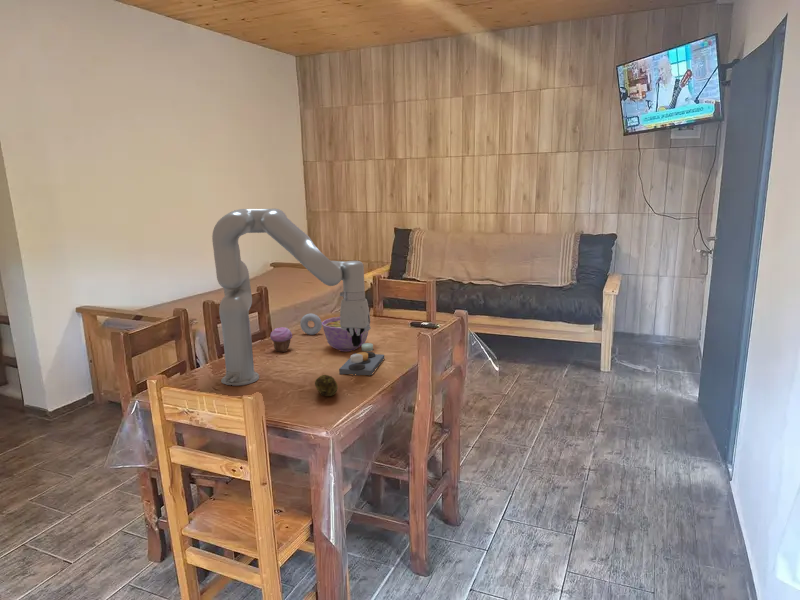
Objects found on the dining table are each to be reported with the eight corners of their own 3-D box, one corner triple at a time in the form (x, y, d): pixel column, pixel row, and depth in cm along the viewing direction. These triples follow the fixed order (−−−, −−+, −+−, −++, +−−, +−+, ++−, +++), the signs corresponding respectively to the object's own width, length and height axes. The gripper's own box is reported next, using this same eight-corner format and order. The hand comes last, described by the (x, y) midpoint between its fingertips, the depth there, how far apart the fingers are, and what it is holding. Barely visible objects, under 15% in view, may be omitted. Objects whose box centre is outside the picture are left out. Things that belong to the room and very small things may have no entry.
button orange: (366, 361, 209) (366, 356, 208) (355, 360, 210) (354, 355, 209) (369, 357, 213) (369, 352, 212) (358, 356, 214) (358, 351, 213)
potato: (344, 389, 190) (343, 366, 188) (334, 404, 177) (333, 380, 175) (320, 388, 191) (319, 366, 189) (309, 403, 178) (307, 379, 177)
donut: (299, 335, 256) (298, 314, 254) (301, 333, 259) (300, 312, 257) (321, 335, 255) (320, 314, 253) (323, 333, 258) (322, 312, 256)
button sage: (371, 351, 215) (371, 346, 214) (360, 351, 216) (360, 346, 215) (374, 348, 219) (374, 343, 219) (363, 347, 220) (363, 342, 220)
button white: (360, 363, 202) (360, 358, 201) (349, 362, 203) (348, 357, 202) (364, 359, 206) (364, 354, 205) (352, 358, 207) (352, 353, 206)
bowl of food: (377, 352, 229) (377, 324, 227) (330, 358, 222) (328, 330, 220) (362, 339, 247) (361, 314, 245) (318, 345, 240) (316, 319, 238)
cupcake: (267, 353, 231) (266, 329, 229) (277, 347, 239) (275, 324, 237) (287, 354, 229) (286, 330, 227) (296, 348, 237) (295, 325, 235)
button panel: (370, 376, 201) (370, 369, 200) (338, 374, 204) (338, 367, 203) (384, 359, 220) (384, 352, 219) (355, 357, 223) (355, 351, 222)
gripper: (330, 297, 197) (333, 347, 201) (371, 298, 194) (373, 349, 198) (337, 293, 204) (340, 341, 208) (377, 294, 201) (379, 343, 205)
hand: (356, 345), depth 203 cm, fingers closed
